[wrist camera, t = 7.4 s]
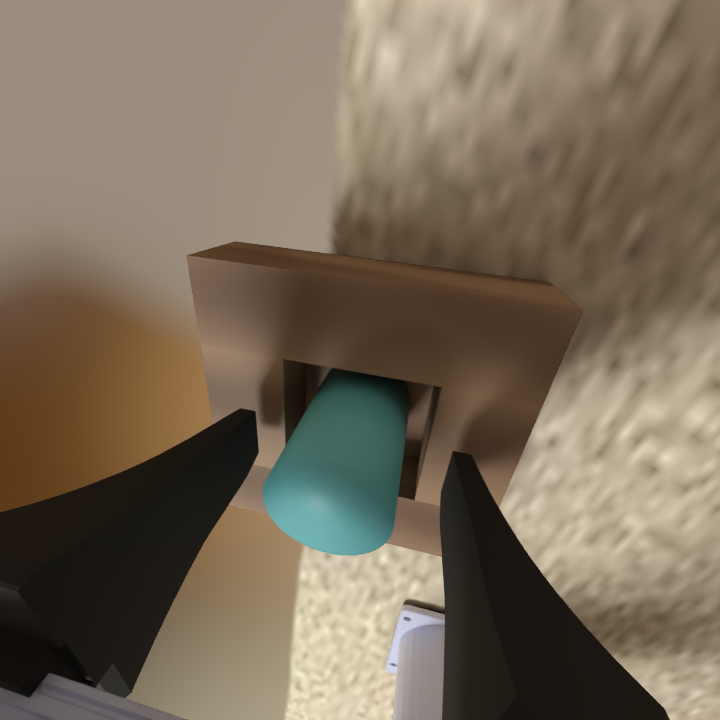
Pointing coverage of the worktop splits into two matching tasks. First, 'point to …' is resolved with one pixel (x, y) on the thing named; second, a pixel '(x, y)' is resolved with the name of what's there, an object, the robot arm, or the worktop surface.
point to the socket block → (381, 358)
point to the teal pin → (343, 465)
